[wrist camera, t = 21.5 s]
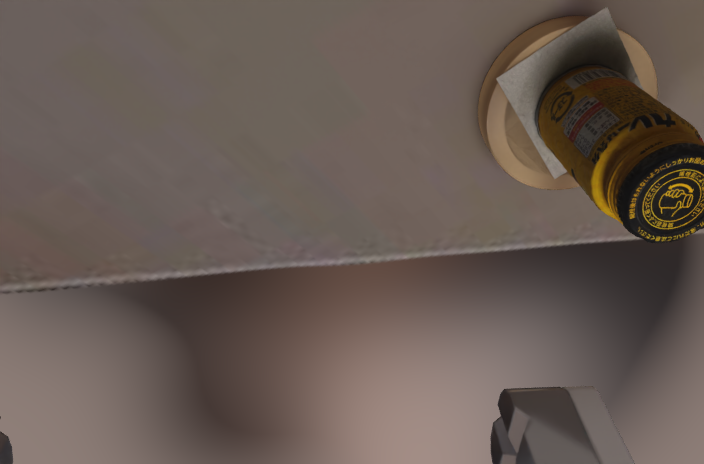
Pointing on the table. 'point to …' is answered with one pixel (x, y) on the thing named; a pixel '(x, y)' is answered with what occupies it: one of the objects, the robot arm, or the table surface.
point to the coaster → (503, 122)
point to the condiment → (610, 132)
